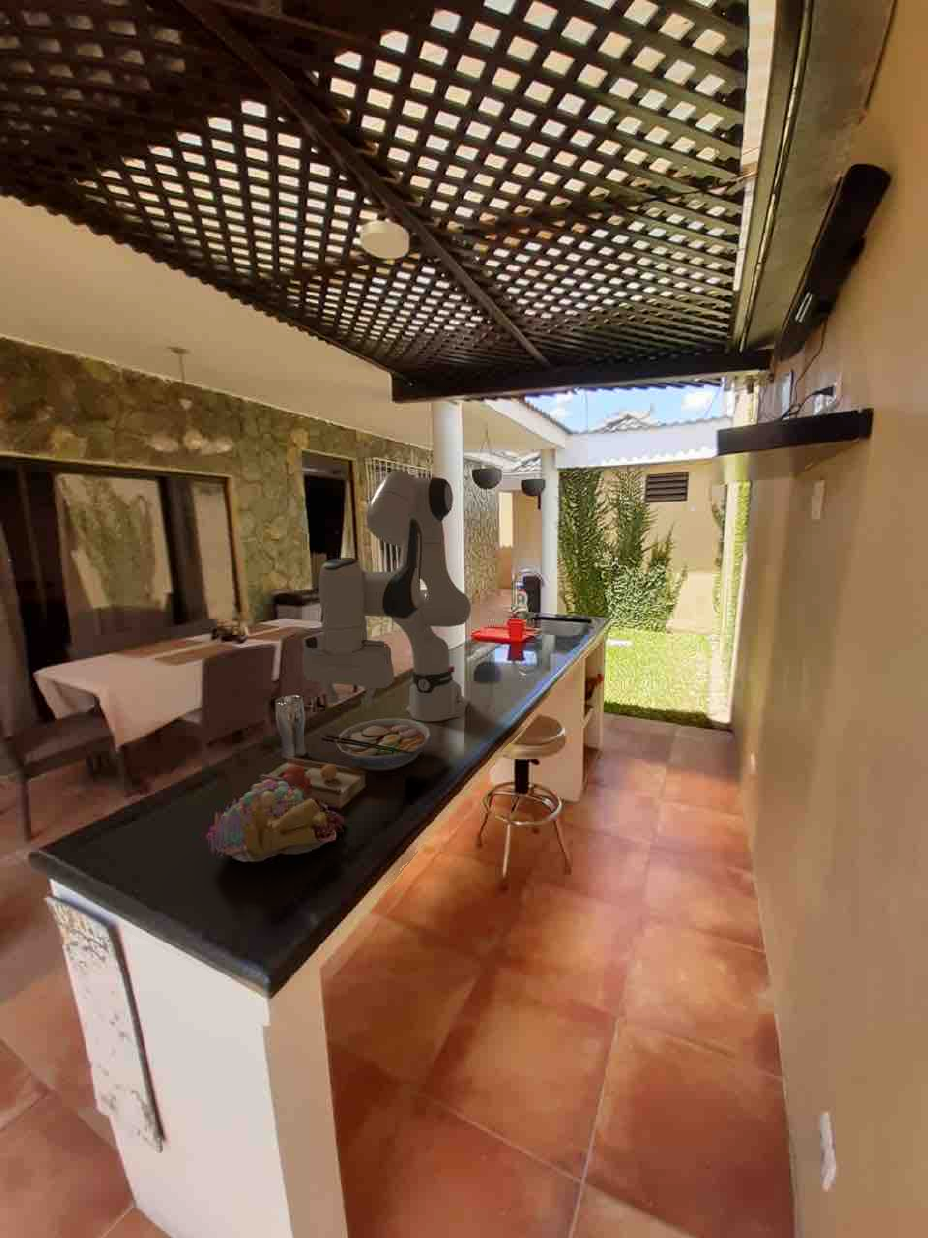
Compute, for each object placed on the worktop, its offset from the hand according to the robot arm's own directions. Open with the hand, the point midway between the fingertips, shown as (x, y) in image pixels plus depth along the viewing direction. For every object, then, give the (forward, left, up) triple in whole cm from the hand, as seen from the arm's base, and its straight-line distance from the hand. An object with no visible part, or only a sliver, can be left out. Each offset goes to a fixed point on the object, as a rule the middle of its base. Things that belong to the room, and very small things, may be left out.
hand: (350, 703), depth 101 cm
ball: (0, -7, -17) cm, 18 cm away
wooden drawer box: (0, -12, -21) cm, 24 cm away
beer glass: (-13, -28, -22) cm, 38 cm away
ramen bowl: (-16, -2, -22) cm, 27 cm away
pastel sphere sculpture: (+17, -6, -20) cm, 27 cm away
